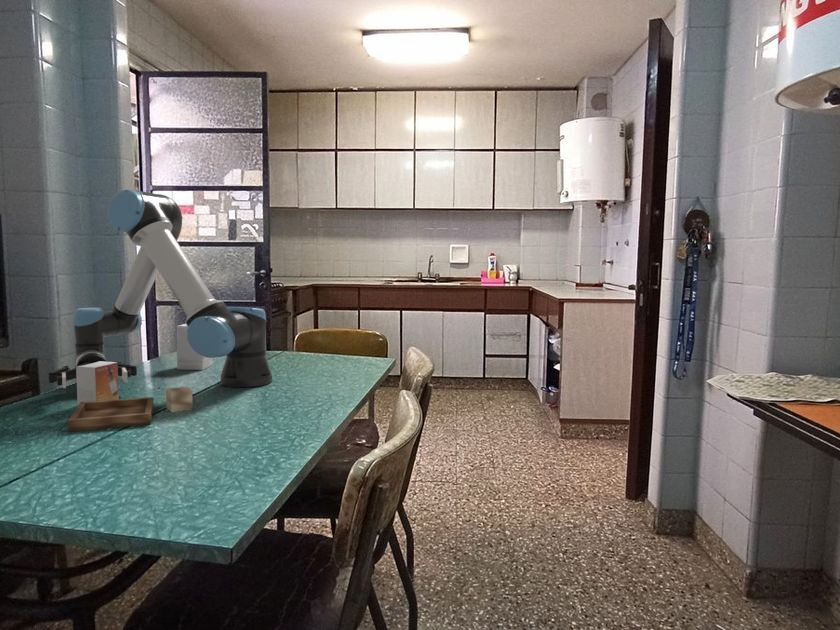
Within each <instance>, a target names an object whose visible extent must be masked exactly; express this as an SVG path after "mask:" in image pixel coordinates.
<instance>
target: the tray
mask: <svg viewBox="0 0 840 630" xmlns="http://www.w3.org/2000/svg"><path fill="white" fill-rule="evenodd" d="M154 402H155V401H154V396H150V397H149V396H148V397H135V398H123V399H120V398H119V400H106V401H92V402H80V404H79V405H78V404H77V407H76V408H75V410H74V411H73V413H72V414H71V416H70V417H69V419H68V421H67V424H68V425H67V426H68V432H69V433H72V432H74V433H75V432H82V431H84V430H85V431H94V430H105V429H115V428H118V429H119V428H125V427H126V428H129V427H137V426H140V427H141V426H146V425H147V426H149V425H151V424H152V419H153V413H154V408H155V407H154V406H155V403H154ZM85 431H84V432H85Z"/></svg>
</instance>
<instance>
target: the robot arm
mask: <svg viewBox="0 0 840 630" xmlns="http://www.w3.org/2000/svg"><path fill="white" fill-rule="evenodd" d="M107 218H108V221H109V223H110V225H111V227H112V228H113V229H115V230H117V231H119V232H121V233H125V234H127V236H128V237H129V239H130V241H131V242H132V243H133V245H134V246H138V247H140V248H139V250H138V251H137V252H138V253H137V254H136V256H135V259H134V261H133V263H132V266H131V268H130V269H129V272H128V273H127V274H128V275H127V277H126V279H125V281H124V283H123V286H122V287H121V290H120V292H119V294H118V297H117V299H116V301H115V304H114V306H113V308H112V310H111V311H107V312H106V311H105V312H104V310H103V308H101V307H79V308H76V309H75V310H74V312H73V313H74V314H73V323H72V324H73V329H74V331H73V332H74V351H75V355H74V363H75V367H74V368H71V366H69V365H65V366H63V367H62V368H59V369H56V370H53V371H50V372H48V383H49V384H53V383H56V385H57V386H62V389H67V382H68V381H71V380H75V379H77V377H76V367H77V366H83V365H87V364H91V363H95V362H99V361H105V362H107V359H106V357H105V338H106V337H111V336H112V337H113V336H119V335H128V334H131V333H133V332H137V331H139V329H140V328H141V327H142V325H143V322H142V321H143V317H142V314H140V313H141V311H142V308H143V306H144V304H145V303H146V300H147V298H148V296H149V294H150V291H151V288H153V285H154V283H155V281H156V278H157V276H158V275H159V274H160V276H161V277H162V280H164V282H165V283H166V285H167V287H168V288H169V289H170V291H171V292H172V294H173V295H174V297H175V298H176V300H177V301H178V303H179V305H180V306H181V308H182V309H183V311H184V312H185V314H186V320H185V324H186V325H187V326H188V329H187V333H188V336H187V339H188V342H189V345H190V346H191V348H192V349H193V350H194V351H195V352H196V353H197V354H199V355H201V356H203V357H207V358H212V359H214V358H222V357H225V356H226V358H225V360H224V364H223V368H222V372H221V374H220V384H221V385H222V386H226V387H229V388H230V387H231V388H252V387H260V386H266V385H268V384H270V383H272V381H273V373H272V370H271V367H270V363H269V361H268V358H267V318H266V317H267V316H266V311H265V309H263V308H255V307H241V306H239V307H238V306H228V307H227V305H226V303H225V302H224V301H222V300H218V299H216V298H215V297H214V295H213V294H212V293H211V291H210V290H209V288H208V287H207V285H206V283H205V282H204V280H203V279H202V277H201V275H200V274H199V272H198V271H197V270H196V268H195V266H194V265H193V263H192V262H191V260H190V259H189V258H188V256H187V255H186V253H185V252H184V250H183V249H182V247H181V245H180V244H179V242H178V239H179V237H180V236H181V235H180V234H181V231H182V229H183V228H182V227H183V213H182V211H181V209H180V206H179V205H178V204H177V202H176V201H175V200H174V199H172V197H171V198H170V197H169V196H167V195H164V194H159V193H152V192H147V191H142V190H141V191H140V190H137V189H123V190H119V191H118V192H116V193H115V194H114V195H113V196H112V197H111V199H110V201H109V203H108V209H107ZM116 362H117V363H118V377H121V378H122V380H123V382H124V383H128V380H129V379H128V378H131V377H132V376H134V377H136V376H138V375H137V374H138V373H137V371H138V369H137V365H131V364H128V363H127V364H126V363H121V362H119V361H116Z"/></svg>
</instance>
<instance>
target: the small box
mask: <svg viewBox="0 0 840 630" xmlns="http://www.w3.org/2000/svg"><path fill="white" fill-rule="evenodd" d="M117 362H118V361H106V362H105V361H99V362H95V363H91V364H87V365H83V366H77V367H76V366H75V367H76V377H77V378H76V396H77V406H78V405H79V404H80V402H92V401H106V400H120V397H119V396H120V395H119V376H118V363H117Z"/></svg>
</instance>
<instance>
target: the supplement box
mask: <svg viewBox="0 0 840 630" xmlns="http://www.w3.org/2000/svg"><path fill="white" fill-rule="evenodd" d="M187 329H188V326H187V325H186V323H183V324H180V325H176V369H177V370H183V371H184V370H186V371H187V370H190V371H204V370H205V369H208V368H210V367H211V366H213V358H207V357H203V356H201V355H199V354H197V353H196V352H195V351H194V350H193V349H192V348H191V346H190V345H189V342H188V339H187V336H188V333H187Z"/></svg>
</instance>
